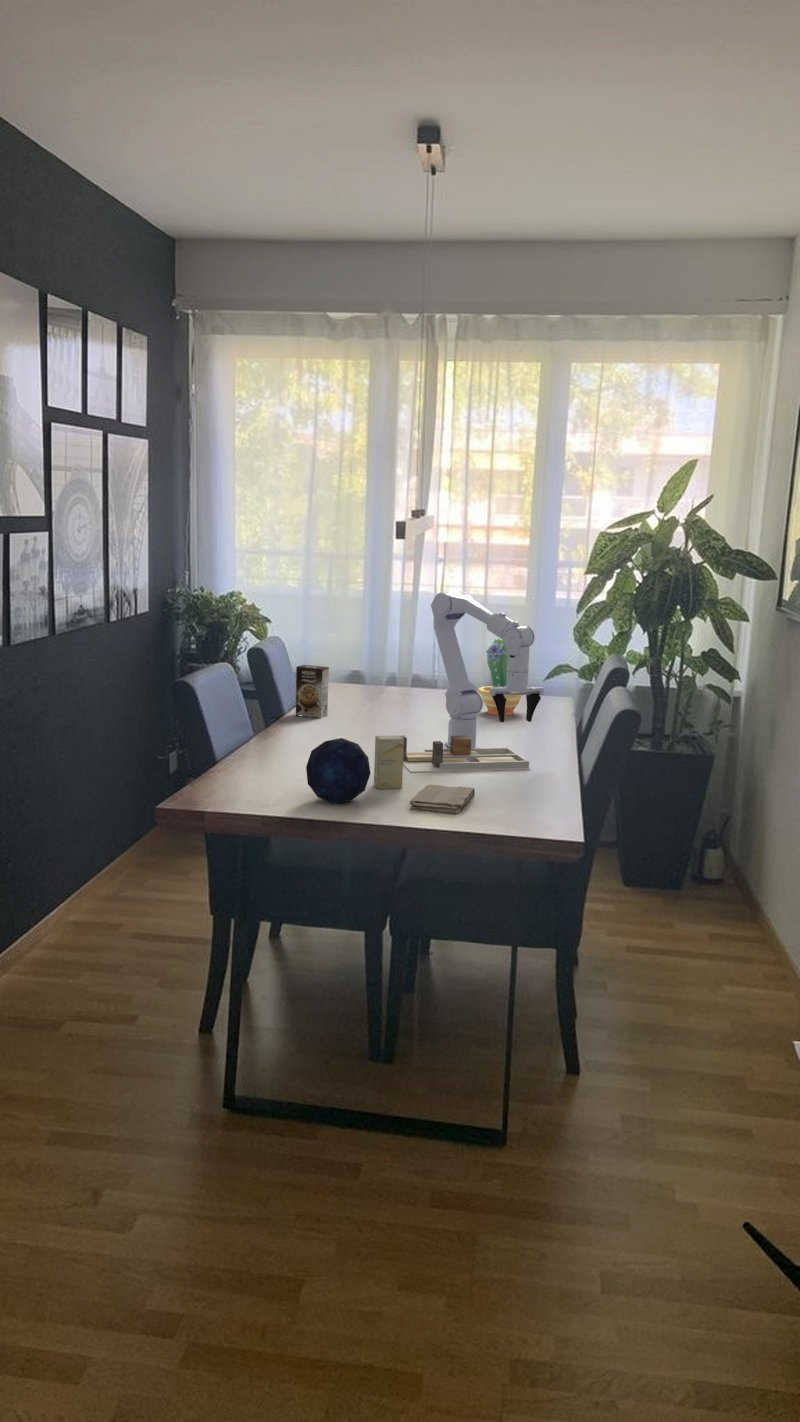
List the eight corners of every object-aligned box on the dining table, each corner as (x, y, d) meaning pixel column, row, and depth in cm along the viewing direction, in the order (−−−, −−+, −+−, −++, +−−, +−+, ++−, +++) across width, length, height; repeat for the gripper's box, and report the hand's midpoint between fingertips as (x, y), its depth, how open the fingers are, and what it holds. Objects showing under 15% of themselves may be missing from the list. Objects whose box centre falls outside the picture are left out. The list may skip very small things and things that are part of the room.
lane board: (395, 756, 280) (395, 749, 280) (508, 754, 287) (508, 746, 287) (410, 772, 263) (410, 765, 262) (530, 769, 270) (530, 761, 269)
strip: (395, 756, 278) (395, 734, 277) (474, 754, 283) (475, 732, 282) (400, 761, 272) (400, 739, 271) (481, 759, 277) (482, 737, 276)
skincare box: (377, 789, 246) (378, 739, 243) (373, 784, 250) (374, 735, 248) (403, 788, 247) (404, 738, 245) (398, 783, 251) (399, 734, 249)
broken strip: (430, 762, 272) (431, 740, 271) (511, 760, 277) (512, 738, 276) (436, 767, 266) (437, 744, 265) (518, 765, 271) (519, 743, 270)
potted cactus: (469, 710, 353) (472, 637, 348) (508, 707, 359) (511, 635, 355) (492, 718, 339) (495, 642, 335) (532, 715, 346) (536, 641, 341)
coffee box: (294, 716, 334) (295, 666, 331) (302, 713, 340) (302, 664, 337) (321, 718, 331) (322, 668, 328) (328, 715, 337) (329, 666, 334)
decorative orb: (393, 780, 233) (365, 722, 237) (346, 792, 222) (318, 731, 226) (356, 807, 242) (330, 751, 246) (309, 820, 231) (282, 760, 234)
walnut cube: (449, 752, 280) (450, 735, 279) (465, 751, 281) (466, 735, 280) (454, 755, 276) (454, 739, 275) (470, 755, 277) (471, 738, 276)
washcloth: (407, 812, 229) (408, 799, 228) (425, 792, 246) (426, 780, 245) (460, 817, 226) (461, 803, 225) (475, 797, 243) (475, 784, 242)
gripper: (496, 673, 271) (494, 724, 274) (548, 673, 275) (545, 723, 277) (488, 669, 278) (486, 719, 281) (539, 669, 281) (536, 718, 284)
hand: (515, 721), depth 279 cm, fingers open, 7 cm apart
